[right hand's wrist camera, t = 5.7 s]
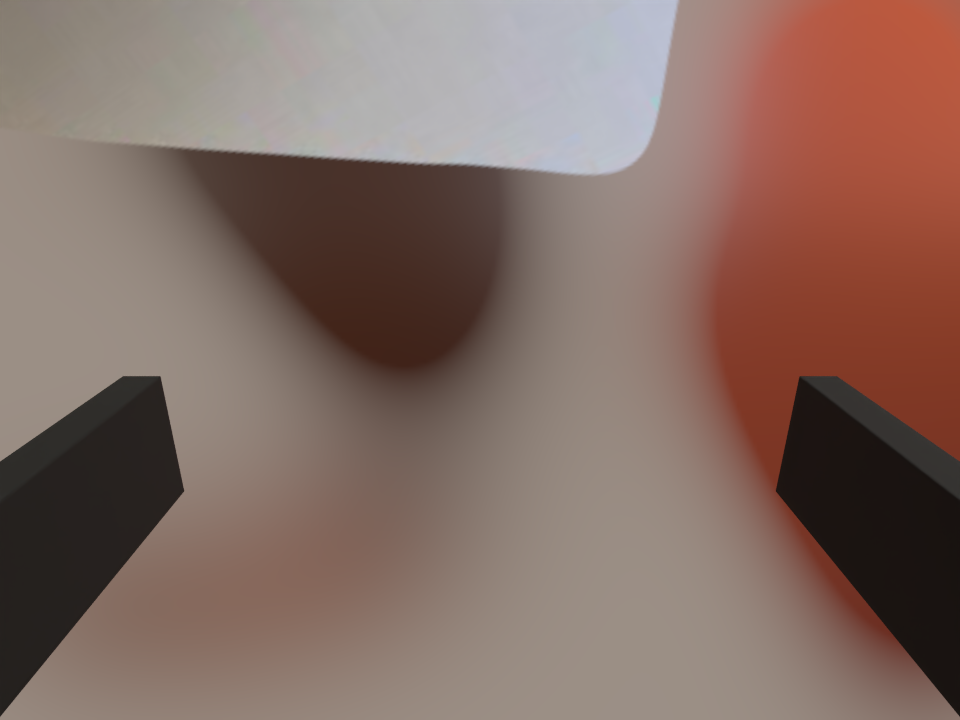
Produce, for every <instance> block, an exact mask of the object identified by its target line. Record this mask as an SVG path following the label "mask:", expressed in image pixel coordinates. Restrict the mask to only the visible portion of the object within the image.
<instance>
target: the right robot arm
mask: <svg viewBox="0 0 960 720" xmlns="http://www.w3.org/2000/svg"><path fill="white" fill-rule="evenodd" d="M183 492H184V488H183V483H182V478H181V474H180V469H179V464H178V459H177V454H176V449H175V445H174V440H173V435H172V430H171V425H170V420H169V416H168V411H167V406H166V401H165V396H164V391H163V387H162V382H161V377H160V376H123V377H122V378H120V379H119V380H117V381H116V382H114V383H113V384H111V385H110V386H109V387H107V388H106V389H104V390H103V391H101V392H100V393H98V394H97V395H96V396H94V397H93V398H91V399H90V400H88V401H87V402H85V403H84V404H83V405H81V406H80V407H78V408H77V409H75V410H74V411H73V412H71V413H70V414H68V415H67V416H65V417H64V418H62V419H61V420H60V421H58V422H57V423H55V424H54V425H52V426H51V427H49V428H48V429H47V430H45V431H44V432H42V433H41V434H39V435H38V436H36V437H35V438H34V439H32V440H31V441H29V442H28V443H26V444H25V445H24V446H22V447H21V448H19V449H18V450H16V451H15V452H13V453H12V454H11V455H9V456H8V457H6V458H5V459H3V460H2V461H0V716H1V715H2V714H3V713H4V711H5V710H6V709H7V708H8V706H9V705H10V704H11V703H12V701H13V700H14V699H15V698H16V697H17V695H18V694H19V693H20V692H21V690H22V689H23V688H24V687H25V685H26V684H27V683H28V682H29V681H30V679H31V678H32V677H33V676H34V675H35V673H36V672H37V671H38V670H39V668H40V667H41V666H42V665H43V663H44V662H45V661H46V660H47V658H48V657H49V656H50V655H51V654H52V652H53V651H54V650H55V649H56V648H57V646H58V645H59V644H60V643H61V641H62V640H63V639H64V638H65V636H66V635H67V634H68V633H69V632H70V630H71V629H72V628H73V627H74V626H75V624H76V623H77V622H78V621H79V619H80V618H81V617H82V616H83V614H84V613H85V612H86V611H87V609H88V608H89V607H90V606H91V605H92V603H93V602H94V601H95V600H96V599H97V597H98V596H99V595H100V594H101V592H102V591H103V590H104V589H105V588H106V586H107V585H108V584H109V583H110V581H111V580H112V579H113V578H114V576H115V575H116V574H117V573H118V572H119V570H120V569H121V568H122V567H123V565H124V564H125V563H126V562H127V561H128V559H129V558H130V557H131V556H132V554H133V553H134V552H135V551H136V549H137V548H138V547H139V546H140V545H141V543H142V542H143V541H144V540H145V538H146V537H147V536H148V535H149V534H150V532H151V531H152V530H153V529H154V527H155V526H156V525H157V524H158V523H159V521H160V520H161V519H162V518H163V516H164V515H165V514H166V513H167V512H168V510H169V509H170V508H171V507H172V505H173V504H174V503H175V502H176V501H177V499H178V498H179V497H180V495H181V494H182V493H183ZM776 492H777V493H778V494H779V496H780V497H781V498H782V499H783V500H784V502H785V503H786V504H787V505H788V507H789V508H790V509H791V510H792V512H793V513H794V514H795V515H796V516H797V518H798V519H799V520H800V521H801V523H802V524H803V525H804V526H805V527H806V529H807V530H808V531H809V532H810V534H811V535H812V536H813V537H814V538H815V540H816V541H817V542H818V543H819V545H820V546H821V547H822V548H823V549H824V551H825V552H826V553H827V554H828V556H829V557H830V558H831V559H832V561H833V562H834V563H835V564H836V565H837V567H838V568H839V569H840V570H841V572H842V573H843V574H844V575H845V576H846V578H847V579H848V580H849V581H850V583H851V584H852V585H853V586H854V588H855V589H856V590H857V591H858V592H859V594H860V595H861V596H862V597H863V599H864V600H865V601H866V602H867V603H868V605H869V606H870V607H871V608H872V610H873V611H874V612H875V613H876V614H877V616H878V617H879V618H880V619H881V620H882V622H883V623H884V624H885V626H886V627H887V628H888V629H889V630H890V632H891V633H892V634H893V635H894V637H895V638H896V639H897V640H898V641H899V643H900V644H901V645H902V646H903V648H904V649H905V650H906V651H907V652H908V654H909V655H910V656H911V657H912V659H913V660H914V661H915V662H916V663H917V665H918V666H919V667H920V668H921V670H922V671H923V672H924V673H925V675H926V676H927V677H928V678H929V679H930V681H931V682H932V683H933V684H934V686H935V687H936V688H937V689H938V690H939V692H940V693H941V694H942V695H943V697H944V698H945V699H946V700H947V701H948V703H949V704H950V705H951V706H952V708H953V709H954V710H955V711H956V713H957V714H958V715H959V716H960V461H958V460H957V459H955V458H954V457H952V456H951V455H949V454H948V453H947V452H945V451H944V450H942V449H941V448H939V447H938V446H936V445H935V444H934V443H932V442H931V441H929V440H928V439H926V438H925V437H923V436H922V435H921V434H919V433H918V432H916V431H915V430H913V429H912V428H911V427H909V426H908V425H906V424H905V423H903V422H902V421H900V420H899V419H898V418H896V417H895V416H893V415H892V414H890V413H889V412H888V411H886V410H885V409H883V408H882V407H880V406H879V405H877V404H876V403H875V402H873V401H872V400H870V399H869V398H867V397H866V396H864V395H863V394H862V393H860V392H859V391H857V390H856V389H854V388H853V387H851V386H850V385H849V384H847V383H846V382H844V381H843V380H841V379H840V378H838V377H837V376H800V377H799V382H798V387H797V391H796V396H795V401H794V406H793V411H792V416H791V421H790V425H789V430H788V435H787V440H786V445H785V449H784V454H783V459H782V464H781V469H780V474H779V478H778V483H777V488H776Z"/></svg>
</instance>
